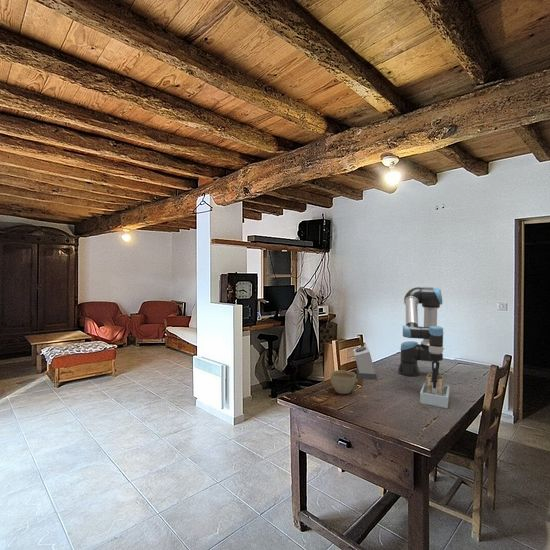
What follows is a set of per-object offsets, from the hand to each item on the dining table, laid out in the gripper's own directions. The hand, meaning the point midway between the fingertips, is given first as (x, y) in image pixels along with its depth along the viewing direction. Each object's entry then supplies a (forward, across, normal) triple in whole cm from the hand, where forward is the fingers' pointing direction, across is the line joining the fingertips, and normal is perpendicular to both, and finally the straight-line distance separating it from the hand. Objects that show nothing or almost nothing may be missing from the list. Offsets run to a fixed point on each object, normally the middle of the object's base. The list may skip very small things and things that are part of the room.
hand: (435, 390), depth 196 cm
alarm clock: (+5, +26, +48) cm, 55 cm away
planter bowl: (+5, -16, +51) cm, 54 cm away
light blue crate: (+5, 0, 0) cm, 5 cm away
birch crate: (+1, 0, 0) cm, 1 cm away
